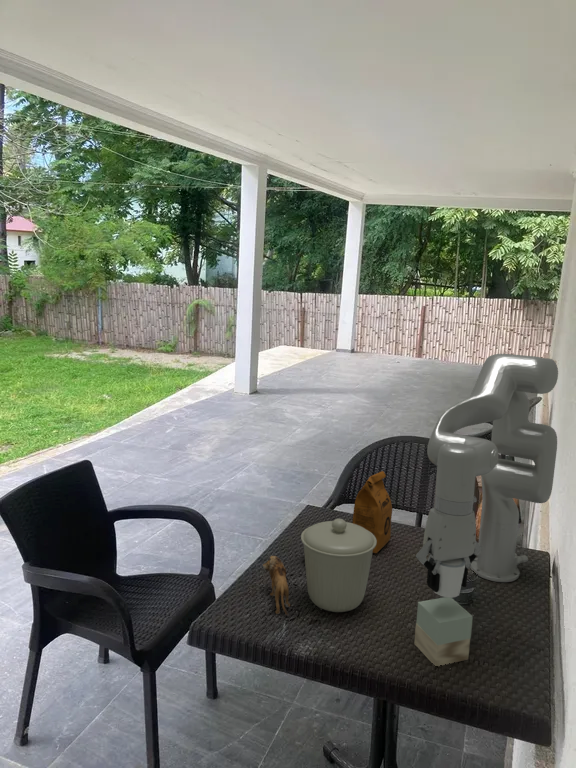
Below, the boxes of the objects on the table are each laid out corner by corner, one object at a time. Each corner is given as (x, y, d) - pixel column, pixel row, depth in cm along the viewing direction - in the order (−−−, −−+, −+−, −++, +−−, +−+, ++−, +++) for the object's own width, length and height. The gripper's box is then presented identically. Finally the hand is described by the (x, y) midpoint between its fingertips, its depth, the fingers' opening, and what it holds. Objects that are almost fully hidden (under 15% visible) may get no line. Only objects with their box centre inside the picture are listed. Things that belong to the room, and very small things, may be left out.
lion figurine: (260, 587, 146) (261, 554, 145) (280, 584, 148) (281, 551, 146) (278, 619, 132) (279, 583, 131) (299, 616, 134) (301, 580, 133)
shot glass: (464, 601, 116) (467, 569, 115) (429, 596, 117) (432, 564, 116) (461, 584, 123) (464, 553, 121) (428, 580, 124) (431, 549, 123)
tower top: (448, 617, 127) (449, 596, 126) (470, 638, 120) (472, 616, 119) (416, 623, 124) (418, 601, 123) (437, 645, 117) (439, 622, 116)
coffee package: (395, 543, 173) (400, 473, 169) (376, 558, 163) (381, 484, 160) (366, 534, 179) (370, 466, 175) (346, 548, 169) (349, 476, 165)
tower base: (445, 637, 128) (447, 617, 127) (468, 659, 120) (470, 638, 120) (414, 644, 125) (415, 623, 124) (435, 667, 118) (437, 645, 117)
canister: (319, 574, 153) (322, 499, 150) (383, 594, 144) (388, 515, 141) (285, 606, 138) (287, 523, 134) (354, 631, 129) (359, 543, 125)
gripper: (476, 493, 123) (469, 571, 126) (406, 502, 117) (400, 583, 120) (500, 506, 116) (492, 588, 119) (427, 516, 110) (421, 602, 113)
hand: (446, 585), depth 120 cm, fingers closed on shot glass, 6 cm apart
